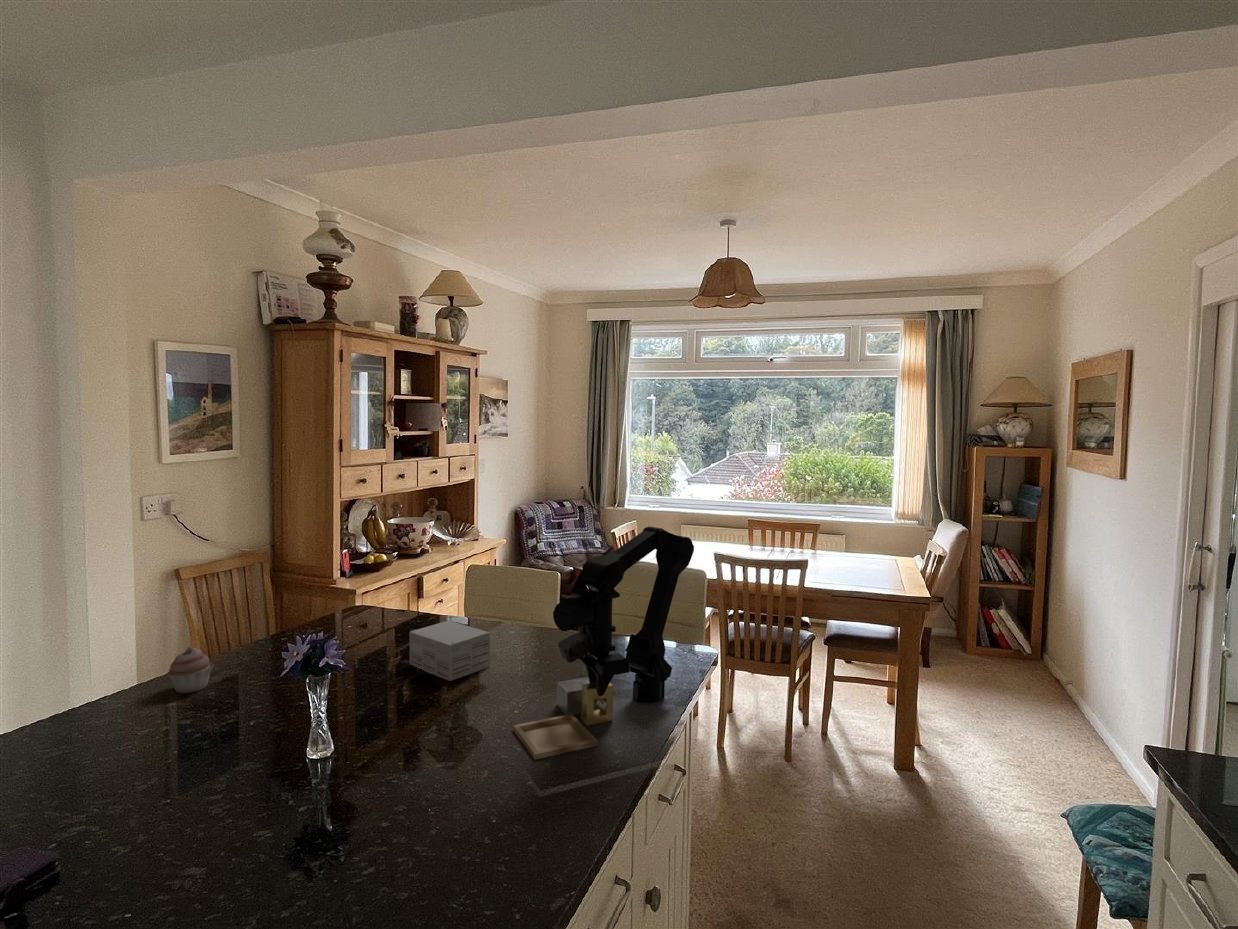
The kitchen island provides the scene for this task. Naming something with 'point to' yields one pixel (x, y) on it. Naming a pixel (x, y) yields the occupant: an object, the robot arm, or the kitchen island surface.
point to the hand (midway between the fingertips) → (597, 692)
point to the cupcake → (190, 671)
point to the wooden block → (587, 704)
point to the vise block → (574, 696)
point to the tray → (554, 736)
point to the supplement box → (450, 649)
